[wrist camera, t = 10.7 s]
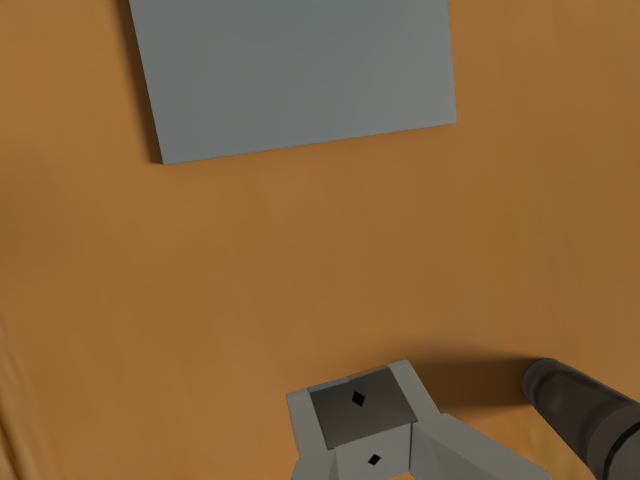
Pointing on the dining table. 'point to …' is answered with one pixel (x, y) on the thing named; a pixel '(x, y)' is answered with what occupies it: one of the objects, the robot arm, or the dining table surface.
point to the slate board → (291, 71)
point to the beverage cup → (587, 418)
